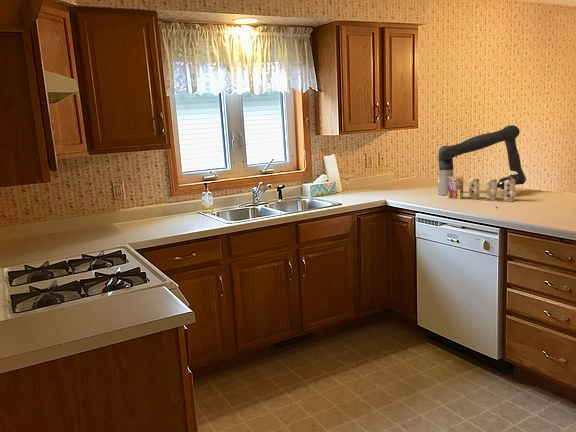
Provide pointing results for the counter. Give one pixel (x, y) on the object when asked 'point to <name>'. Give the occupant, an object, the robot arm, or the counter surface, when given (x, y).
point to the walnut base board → (491, 200)
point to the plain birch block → (491, 189)
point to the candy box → (455, 187)
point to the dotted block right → (509, 190)
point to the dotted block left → (474, 188)
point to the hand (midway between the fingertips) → (494, 186)
